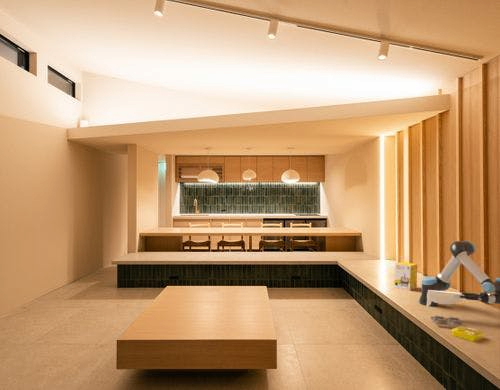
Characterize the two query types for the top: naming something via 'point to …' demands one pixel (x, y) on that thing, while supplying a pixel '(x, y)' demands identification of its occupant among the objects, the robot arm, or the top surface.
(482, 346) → the top surface
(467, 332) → the element tile
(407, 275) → the packaging box
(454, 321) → the hinge board
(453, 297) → the shelf bracket
